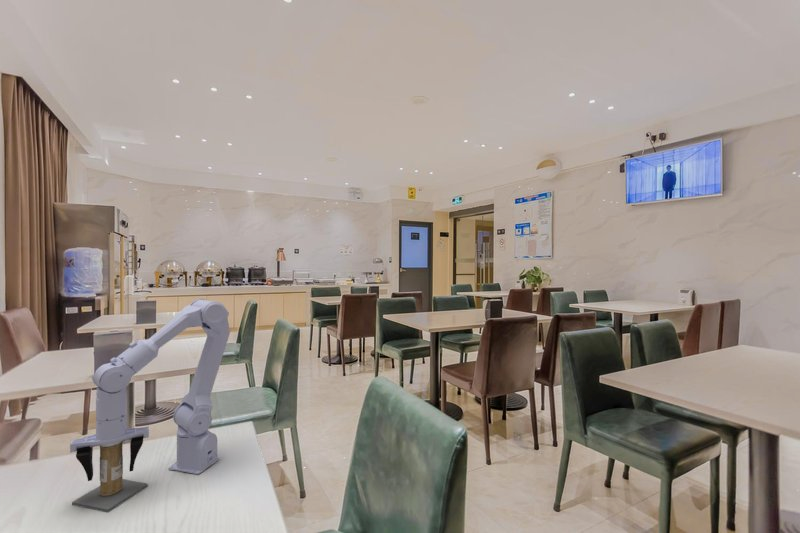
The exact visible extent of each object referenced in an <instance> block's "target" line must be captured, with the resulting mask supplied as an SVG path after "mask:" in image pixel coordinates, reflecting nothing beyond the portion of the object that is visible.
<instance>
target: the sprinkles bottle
mask: <svg viewBox="0 0 800 533" xmlns="http://www.w3.org/2000/svg"><path fill="white" fill-rule="evenodd" d="M123 442H124V441H122V440H121V441H118V442H114V443H110V444H101V445H100V446H99V481H100V482H99V483H100V484H99V486H100V495H102V496H109V495H113V494H115V493H117V492H119V491H120V490H121V489H122V488H123V481H122V479H124V478H123V475H124V462H123V460H124V459H123V458H124V454H123Z"/></svg>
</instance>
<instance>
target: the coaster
mask: <svg viewBox="0 0 800 533" xmlns="http://www.w3.org/2000/svg"><path fill="white" fill-rule="evenodd" d="M122 481H123V488H122V489H121V490H120V491H119V492H117V493H115V494H113V495H109V496H102V495H100V485H99V486H97V487H96V488H93V489H92V490H90V491H88V492H87V493H85V494H84V495H81V496H80V497H79V498H77V499H74V500H73V501H71V505H72V506H77V507H81V508H85V509H91V510H95V511H100V512H104V513H105V512H106V513H109V512H111V511H112V510H114V509H115V508H117V507H119V506H120V505H121V504H123V503H124V502H126V501H128V500H129V499H130V498H132V497H133V496H135V495H136V494H138V493H139V492H141V491H142V490H144V489H145V488H147V487H148V485H149V484H148V483H149V482H148V483H146V482H142V481H136V480H131V479H126V478H125V479H124V478H123V479H122Z"/></svg>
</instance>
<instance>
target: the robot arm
mask: <svg viewBox="0 0 800 533" xmlns="http://www.w3.org/2000/svg"><path fill="white" fill-rule="evenodd" d="M229 314H230V312H229V311H228V309H227V308H226V307H225V305H224V304H223V303H222V302H219V301H214V300H213V301H212V300H207V299H205V298H198V299H195V300H194V301H192V302H190V304H188V305H186V306H184V307H183V308H182V309H181V311H180V312H178V313H177V314H176V315H175V316H174V317H173V318H172V319H170V321H168V322H167V323H166V324H165V325H163V326H162V327H161V328H160V329H159V330H158V331H156V332H155V333H154V334H153V335H151V336H150V337H149V338H147V339H139V340H137V341H135V340H133V341H131V342H130V343H129V344H128V346H129V347H128V348H127V349H126V350H124V351H123V352H121V353H120V354H119V355H117V357H112V358H110V360H109V361H110V362H109V363H103V364H102V365H100V366H99V367H98V368H97V369H96V370H95V373H94V374H93V375H92V377H91V379H92V383H94V385H95V386H97V387H96V398H95V434H93V435H88V436H86V437H85V436H84V437H81V438H78V439H72V440H71V442H70V444H69V449H70V450H69V452H70V453H76V454H75V457H76V459H77V461H78V462H79V463H80V464H81V465H82V468H83V470H84V472H85V474H86V478H87V481H88V482H89V481H93V478H94V477H93V476H94V464H93V452H94V449H93V448H94V447H100V445H101V444H110V443H114V442H118V441H121V440H122V441H123V442H125V441H130V442H129V445H130V446H129V448H130V450H129V451H130V453H129V454H130V457H129V458H130V461H129V472H134V469H135V467H134V466H135V461H136V459H137V456H138V454H139V452H140V449H141V448H142V447H143V443H144V439H146V438H149V437H150V427H149V426H144V427H129V428H127V426H128V425H127V423H128V422H127V419H128V418H127V417H128V415H127V409H128V408H127V406H128V405H127V404H128V402H127V400H128V396H127V387H128V386H129V385H130V384H131V380H132V378H133V377H134V376H135V375H136V374H137V373H138V372H140V371H141V370H142V369H144V368H145V367H146V366H147V365H149V363H151V362H152V361H153V360H155V359H156V358H157V357H158V355H159V350H160V348H162V347H163V346H164V345H166V344H168V343H169V342H170V341H171V340H173V339H174V338H176V337H177V336H178V335H179V334H181V333H182V332H183V331H185V330H186V329H188V328H196V327H201V328H202V330H203V331H204V332H205V333H206V339H205V342H204V344H203V347H202V348H203V349H202V351H201V355H200V358H199V360H198V364H197V366H196V370H195V372H194V376H193V378H192V381H191V385H190V388H189V390H188V393H187V394H185V395H184V396H183V397H182V399H181V402H180V404H178V406H177V407H176V409H175V410H174V412H173V416H172V417H173V418H172V419H173V422H174V423H175V424H176V425H177V430H176V462H174V463H173V464H171V465H169V466H168V470H171V471H177V472H184V473H188V474H194V475H199V474H200V475H201V473H202V472H204V471H205V470H207V469H208V468H209V467H210V466H212V465H213V464H215V463H216V462H217V461H218V460H219V459H220V457H219V456H218V437H217V435H216V434H215V433H214V432H211V431H210V430H209V428H210V427H211V424H212V420H213V419H212V411H213V410H212V409H213V403H212V399H211V394H212V392H213V387H214V385H215V381H216V379H217V376H218V372H219V369H220V365H221V362H222V359H223V357H224V354H225V350H226V347H227V343H228V341H229V338H230V334H231V332H230V331H231V330H230V324H229V320H228V319H229V318H228V317H229Z"/></svg>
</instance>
